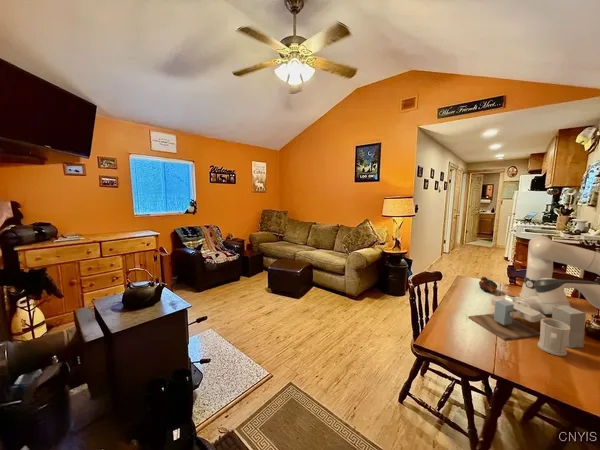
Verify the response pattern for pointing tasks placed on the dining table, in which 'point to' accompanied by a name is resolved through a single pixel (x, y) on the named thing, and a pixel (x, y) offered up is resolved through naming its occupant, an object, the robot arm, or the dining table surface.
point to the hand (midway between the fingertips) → (502, 310)
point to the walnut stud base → (504, 327)
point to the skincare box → (571, 324)
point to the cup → (553, 337)
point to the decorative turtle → (487, 285)
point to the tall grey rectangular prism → (503, 312)
